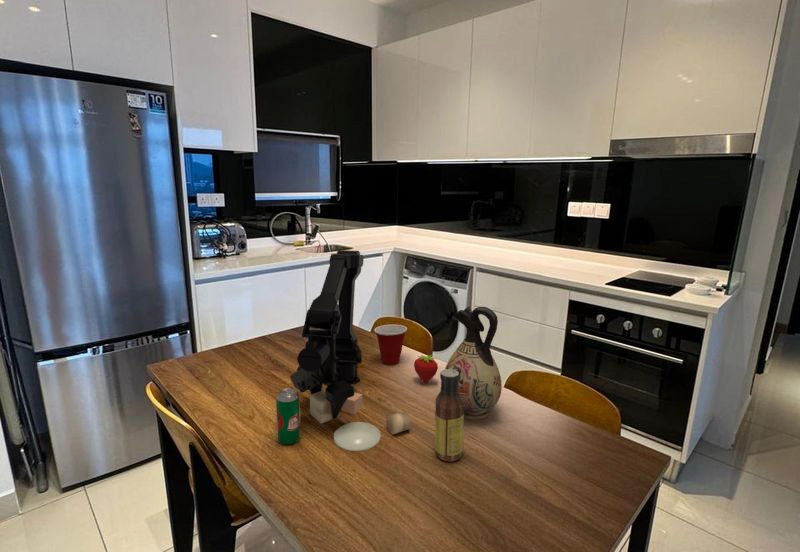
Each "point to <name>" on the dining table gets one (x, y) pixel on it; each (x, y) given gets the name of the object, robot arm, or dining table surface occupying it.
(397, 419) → the beech cylinder
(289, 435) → the soda can
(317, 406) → the maple block
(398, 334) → the plastic cup
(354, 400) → the terracotta block
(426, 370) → the strawberry
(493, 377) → the ceramic jug
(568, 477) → the dining table surface
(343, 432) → the coaster
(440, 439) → the sauce bottle
